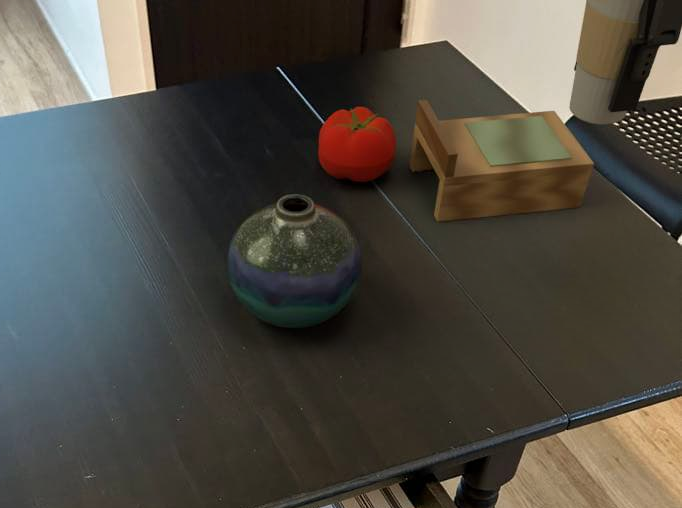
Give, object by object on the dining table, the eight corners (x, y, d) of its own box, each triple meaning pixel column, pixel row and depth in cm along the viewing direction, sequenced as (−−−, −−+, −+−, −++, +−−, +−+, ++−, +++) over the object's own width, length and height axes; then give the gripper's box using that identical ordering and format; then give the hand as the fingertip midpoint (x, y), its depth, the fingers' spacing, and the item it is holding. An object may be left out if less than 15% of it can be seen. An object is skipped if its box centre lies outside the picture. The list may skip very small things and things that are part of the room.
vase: (263, 255, 105) (262, 153, 94) (376, 287, 101) (388, 185, 90) (206, 326, 96) (197, 223, 86) (326, 364, 93) (333, 261, 82)
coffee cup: (615, 142, 84) (671, -25, 72) (535, 112, 88) (576, -52, 76) (657, 108, 89) (717, -56, 76) (579, 81, 92) (624, -80, 80)
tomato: (381, 198, 112) (387, 144, 106) (305, 183, 115) (307, 129, 109) (401, 159, 118) (408, 106, 112) (329, 145, 120) (332, 93, 114)
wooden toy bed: (542, 153, 119) (560, 87, 112) (580, 207, 111) (601, 140, 104) (409, 166, 117) (418, 100, 110) (437, 222, 109) (448, 154, 102)
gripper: (597, -225, 74) (533, 48, 92) (712, -155, 62) (612, 143, 80) (674, -228, 75) (596, 42, 93) (803, -160, 62) (684, 135, 81)
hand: (603, 89), depth 86 cm, fingers closed on coffee cup, 8 cm apart
